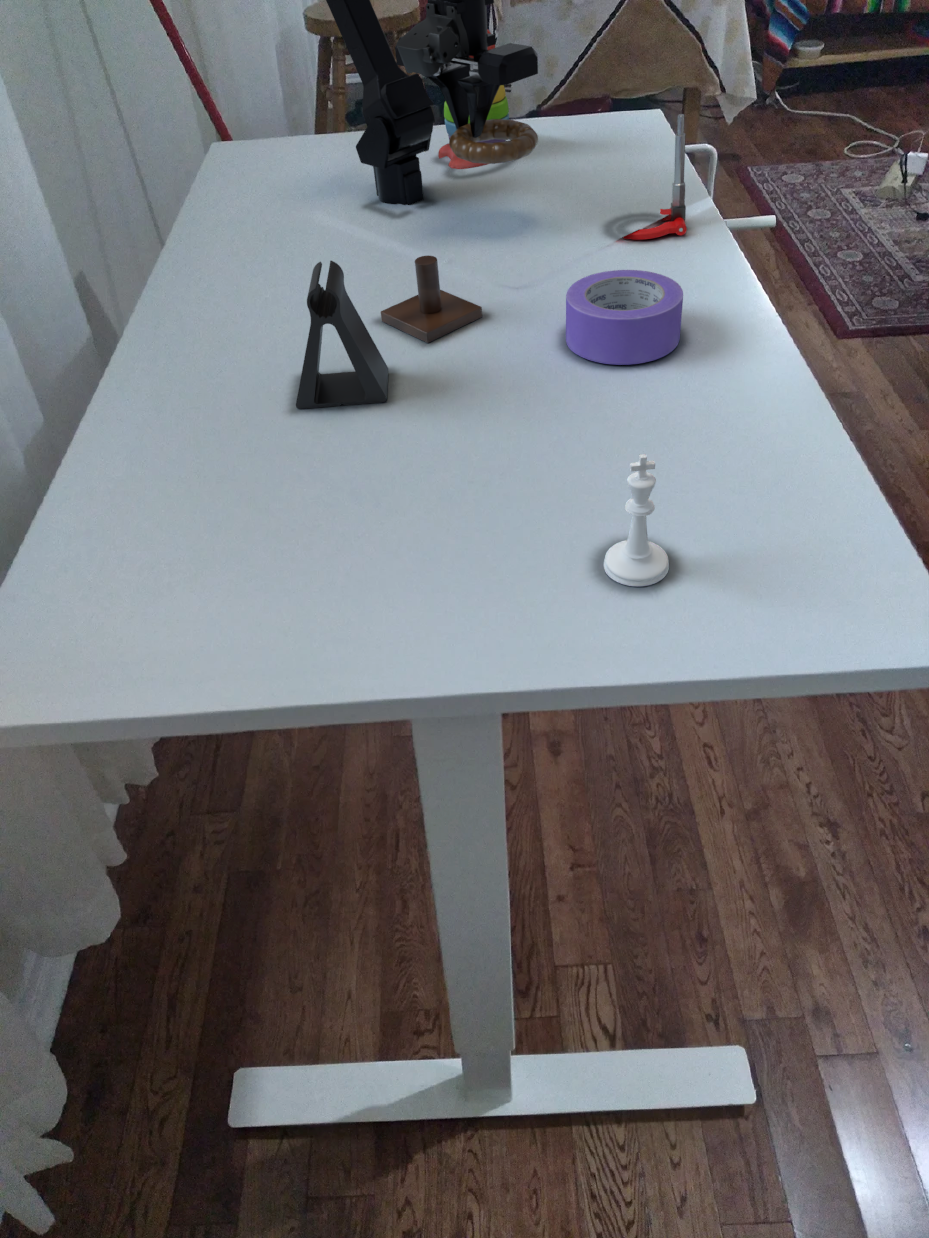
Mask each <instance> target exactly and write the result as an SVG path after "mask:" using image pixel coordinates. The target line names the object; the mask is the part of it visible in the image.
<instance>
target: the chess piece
mask: <svg viewBox="0 0 929 1238" xmlns="http://www.w3.org/2000/svg"><path fill="white" fill-rule="evenodd" d="M655 469H656V462H655V460H648V456H647V454H646V453H641V454H639V455H638V461H636V462H629V470H630V472H631V473H630V474H629V475H628V476H627V480H626V482H627V486H628V488H629V490H630V495H631V498H629V499H628V500H627V501H626V503H625V505H624V510H625V511H626V512H627V514H629V515H631V521H630V526H629V531H628V536H627V539H625V540H622V541H618V542H617V543H615V544H613V545H612V546H610V548H608V550H607V551H606V553H605V556H604V560H603V570H604V572H605V573H606V575H607V576H608V577H609V578H610V579H611V580H613V581H614V582H615V583H616V582H617V584H621V585H624V586H628V587H647V586H651V585H654V584H657V583H659V582H661V581H662V580H664V578H665V577H666V576H667V575H668V572H669V568H670V564H669V556H668V554H667V552H666V551H665V549H664V548H662V547H661V545H658V544H657V543H655V542H653V541H649V537H648V536H649V535H648V526H647V525H648V524H647V523H648V522H647V517H648V516H650V515H652V514H653V513H654V512H655V510H656V509H655V508H656V506H655V503H654V501H653V500H652V499H650V496H651V494H652V491H653V490H654V488H655V486H656V483H657V478H656V476H654V474H652V473H651V472H648V471H650V470H655Z"/></svg>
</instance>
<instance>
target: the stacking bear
mask: <svg viewBox="0 0 929 1238" xmlns="http://www.w3.org/2000/svg"><path fill="white" fill-rule="evenodd" d="M487 30H488V33H490V34H492V32H491V31H490V30H489V29H488V28H487ZM493 48H496V44H495V45H492V46H489V47H488V50H490V49H493ZM469 57H471V58H474V57H473V56H469ZM506 95H507V93H506V88H505V85H500V87H499V89H498V91H497V94H496V96H495V98H494V100H493V103H492V106H491V108H490V111H489V114H488V117H487V120H490V119H504V120H510V114H509V112H510V108H509V102H508V97H507V96H506ZM443 117H444V125H445V130H446V133H447V136H448V141H449V140H450V137H451V136H452V135H453V133H454V132H455V131H456V130H457V129H456V126H455V124H454V121H453V118H452V116H451V113H450V111H449V108H448V105H447V103H446V100H445V101H444V105H443ZM469 123H470V118H469V120H468V124H469ZM504 141H507V140H503V139H491V140H484V141H478V142H482V143H497V142H504ZM437 156H438V159H439V160H441V159H442V158H445V157H447V158H449V162H448V167H449V168H450V169H452V170H453V169H455V170H466V169H473V168H478V167H483V166H487V165H488V164H485V163H473V162H470V161H466V160H463V159H460V158H458V157H457V156H456V155H455V154H454V152H453V151H452V149H451V148H450V145H449V142H448V143H446V144H444V145H442V146H441V147H439V149H438V155H437Z"/></svg>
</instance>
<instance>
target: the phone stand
mask: <svg viewBox="0 0 929 1238" xmlns="http://www.w3.org/2000/svg"><path fill="white" fill-rule="evenodd" d="M322 267H323V263H322V261H319V262H317V263H316V264H315V265H314V267H313V269H312V273H311V278H310V283H309V287H308V291H307V292H308V293H307V297H306V306H307V309H308V311H309V316H310V317H309V318H310V326H309V331H308V337H307V340H306V341H307V342H306V347H305V352H304V359H303V363H302V368H301V369H302V370H301V374H300V380H299V384H298V385H299V386H298V391H297V396H296V402H295V407H296V408H297V409H298V410H305V409H317V408H328V407H329V408H331V407H340V406H341V405H343V406H355V405H366V404H367V405H368V404H379V403H386V402H387V401H388V387H389V386H388V385H389V384H388V382H389V367H388V365H387V363H386V361H385V359H384V358H383V356H382V354H381V352H380V350H379V349H378V346H377V345H376V343H375V342H374V339H373V338H372V336H371V334H370V333H369V331H368V328H367V327H366V325H365V323H364V321H363V320H362V318H361V316H360V314H359V313H358V311H357V309H356V307H355V305H354V303H353V301H352V300H351V298H350V296H349V294H348V292H347V290H346V286H345V274H344V271H343V268H342V267H341V266H340V264H338V263H337V262H336V261H333V260H330V261H329V267H328V272H327V279H326V284H325V289H324V286H321V285H322V284H320V279H321V273H322ZM325 325H332V326H333V327H334V328H335V330H336V332H337V335H338V337H339V338H340V341H341V343H342V345H343V347H344V350H345V352H346V353H347V356H348V358H349V360H350V363H351V365H352V367H353V369H354V371H344V372H343V371H342V372H332V373H320V365H321V353H322V342H323V332H324V331H323V330H324V326H325Z"/></svg>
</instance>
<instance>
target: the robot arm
mask: <svg viewBox="0 0 929 1238" xmlns="http://www.w3.org/2000/svg"><path fill="white" fill-rule="evenodd" d="M426 1H427V3H426V5H425V11H426V16H425V18H424V19H423V20H422V21H419V22H418V23H416V24H415V25H414V26H413V27H412V28H411V29H409V31H407V32H406V33H405V34H404V35H402V36H400V37H399V38H398V40H397V41H396V45H395V47H394V51H395V56H394V54H393V51H392V48H391V47H390V44H389V42H388V40H387V38H386V37H387V36H386V35H385V32H384V30H383V27H382V26H381V23H380V21H379V18H378V16H377V14H376V12H375V9H374V7H373V5H372V2H371V0H325V2H326V4H327V6H328V8H329V11H330V12H331V15H332V17H333V20H334V22H335V24H336V27H337V28H338V31H339V33H340V36H341V38H342V39H343V43H344V44H345V47H346V49H347V52H348V53H349V56H350V58H351V60H352V63H353V64H354V67H355V69H356V71H357V74H358V76H359V79H360V80H361V83H362V86H363V87H362V88H363V89H362V92H363V93H362V109H361V110H362V111H361V112H362V115H363V119H364V123H365V125H366V128H365V130H364V132H363V133H362V135H361V137H360V138H359V139H358V141H357V143H356V145H355V150H356V153H357V155H358V158H359V160H360V161H359V162H360V163H361V164H363V165H368V166H371V167H373V168H372V169H373V176H374V184H375V192H376V196H377V197H378V200H379V201H380V202H381V203H383V204H387V205H402V206H411V205H415V204H417V203H420V202H423V201H424V200H425V197H424V187H423V176H422V171H421V166H420V157H418V156H417V155H419V154H421V153H424V152H425V153H426V152H429V150H430V146H431V140H432V134H433V131H434V124H435V122H436V119H435V114H434V111H433V108H432V107H433V106H434V102H433V100H432V99H431V98H430V96H429V95H428V93H427V90H426V88H425V85H424V81H423V78H422V77H424V78H427V79H428V80H430V81H432V82H433V83H434V84H435V85H436V86H437V87H438V88H439V90H440V92H441V93H442V96H443V98H444V100H445V101H446V103H447V105H448V108H449V111H450V113H451V116H452V118H453V121H454V124H455V126H456V129H458V128H459V127H461V126H464V125H467V124H468V120H469V118H470V127H471V132H472V136H473V137H474V138H477V137H479V136H481V133H482V131H483V128H484V125H485V122H486V120H487V117H488V114H489V111H490V108H491V106H492V103H493V100H494V98H495V96H496V94H497V91H498V89H499V87H500V85H504V86H508V85H510V84H513V83H516V82H519V81H521V80H524V79H527V78H530V77H533V76H535V75H538V74H539V62H538V61H539V58H538V57H539V56H538V52H536V50H535V49H534V47H533V46H530V45H525V44H520V43H513V42H509V43H507V44H503V45H500V46H497V47H496V45H497V43H496V34H495V33H491V32H490V33H491V34H490V33H488V30H489V29H488V15H487V14H488V12H487V6H488V5H492V4H495V0H426ZM487 29H488V30H487ZM492 45H495V48H493V49H490V50H488V47H489V46H492ZM469 56H473V57H474V58H471V57H469ZM399 66H401V67H404V69H405V71H406V72H405V71H404V70H403V69H401V68H400V67H399ZM407 73H408V74H410V75H408V74H407ZM420 75H421V76H422V77H421V76H420Z"/></svg>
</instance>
